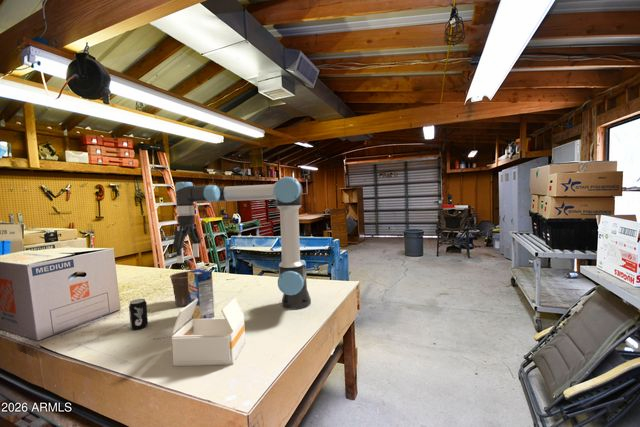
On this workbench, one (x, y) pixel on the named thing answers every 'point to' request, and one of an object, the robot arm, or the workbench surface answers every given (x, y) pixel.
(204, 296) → the beverage box
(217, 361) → the carton
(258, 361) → the workbench surface
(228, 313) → the end flap
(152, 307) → the workbench surface
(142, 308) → the beverage can
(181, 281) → the plant pot
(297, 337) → the workbench surface
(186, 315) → the end flap
